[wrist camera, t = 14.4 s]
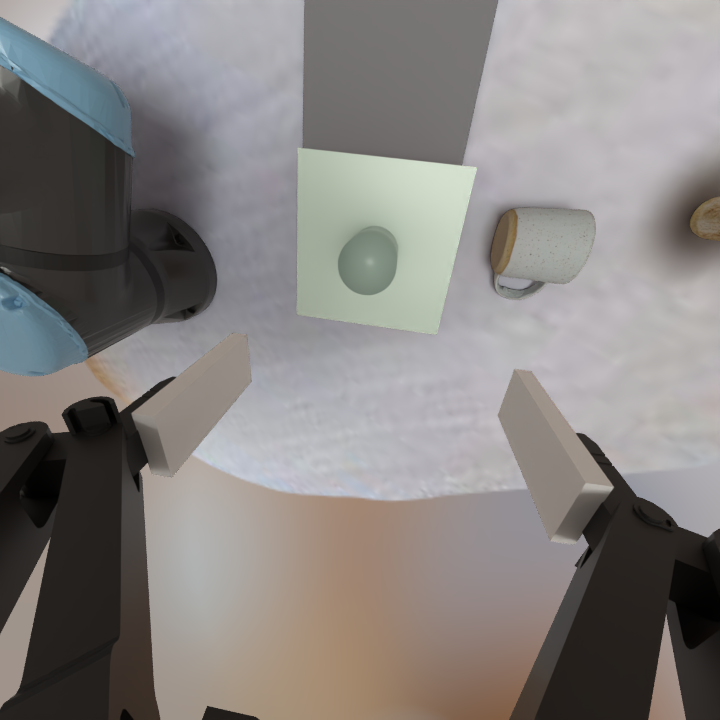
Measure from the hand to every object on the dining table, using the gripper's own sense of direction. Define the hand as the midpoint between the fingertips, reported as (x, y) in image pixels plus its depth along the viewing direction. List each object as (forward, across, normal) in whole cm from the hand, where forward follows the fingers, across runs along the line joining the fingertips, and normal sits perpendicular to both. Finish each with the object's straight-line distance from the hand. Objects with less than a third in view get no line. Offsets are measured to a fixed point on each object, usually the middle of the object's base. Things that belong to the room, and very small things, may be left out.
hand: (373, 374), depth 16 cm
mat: (+29, -3, +20) cm, 35 cm away
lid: (+23, -2, +2) cm, 23 cm away
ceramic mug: (+29, +16, +3) cm, 33 cm away
